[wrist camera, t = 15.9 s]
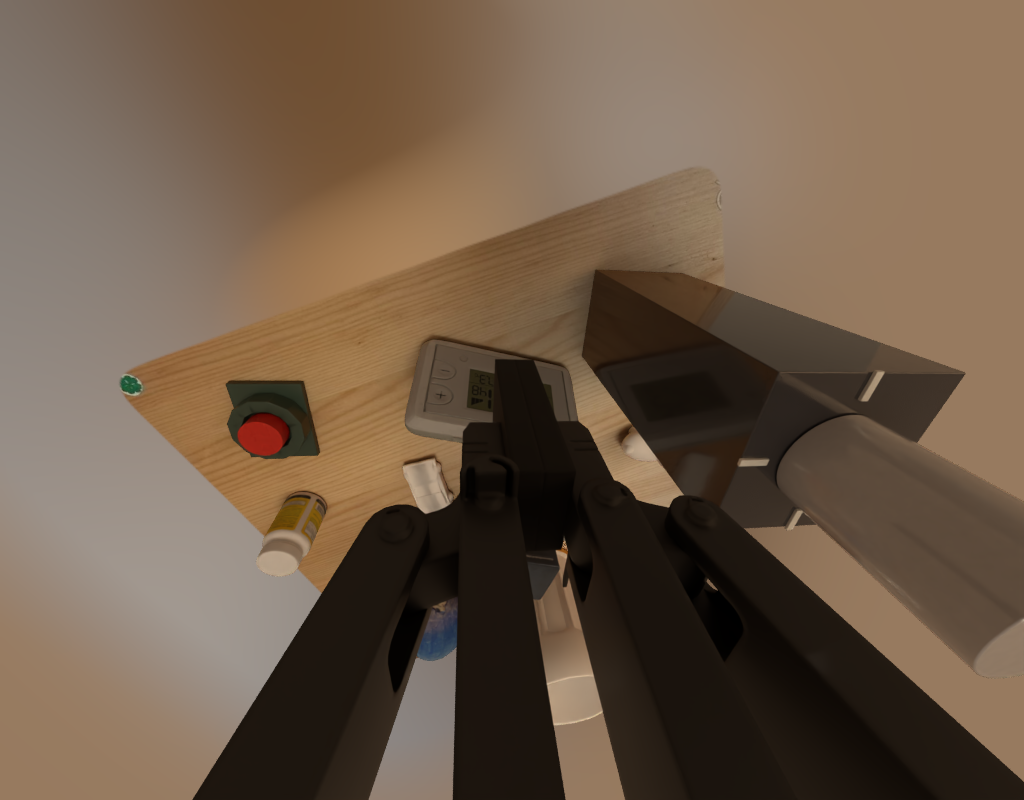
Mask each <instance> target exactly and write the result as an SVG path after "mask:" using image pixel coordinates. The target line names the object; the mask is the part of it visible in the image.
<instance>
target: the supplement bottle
mask: <svg viewBox="0 0 1024 800" xmlns="http://www.w3.org/2000/svg"><path fill="white" fill-rule="evenodd" d="M325 513H326V504H325V502H324V500H323V499H322V498H320V497H319V496H317V495H315V494H312V493H309V492H298V493H294V494H292V495H290V496H289V497H288V498H287V499H286V501H285V502H284V504H283V506H282V507H281V509H280V511H279V513H278V514H277V516H276V518H275V520H274V521H273V523H272V525H271V527H270V528H269V530H268V532H267V534H266V535H265V537H264V539H263V543H262V546H263V548H262V550H261V552H260V554H259V556H258V558H257V561H256V564H257V566H258V568H259V569H260V570H261V571H262V572H264V573H266V574H269V575H272V576H287V575H290V574H292V573H294V572H295V571H296V570H297V568H298V566H299V564H300V562H301V560H302V558H303V557H304V556H306V555H307V553H308V552H309V550H310V548H311V546H312V543H313V541H314V539H315V536H316V534H317V532H318V529H319V527H320V525H321V522H322V520H323V518H324V515H325Z"/></svg>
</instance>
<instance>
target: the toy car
mask: <svg viewBox="0 0 1024 800" xmlns="http://www.w3.org/2000/svg"><path fill="white" fill-rule="evenodd" d="M402 468H403V471H404V477H405V479H406V480H407V481H408V483H409V486H410V489H411V491H412V494H413V496H414V499H415V501H416V503H417V507H418V508H419V509H420V510H421V511H423V512H424V513H425V514H427V513H430V512H434V511H437V510H440V509H442V508H445V507H446V506H448V505H449V504H451V503H452V500H453V494H452V493H451V492H449V490H448V488H447V485H446V483H445V480H444V478H443V475H442V473H441V465H440V464H439V463H438V462H436V459H435V458H431V459H427V460H423V461H419V462H415V463H411V464H406V465H403V467H402Z"/></svg>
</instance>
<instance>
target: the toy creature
mask: <svg viewBox="0 0 1024 800" xmlns="http://www.w3.org/2000/svg"><path fill="white" fill-rule="evenodd" d="M622 450H623V451H624V453H625V454H626V455H627V456H629V457H630V458H632V459H635V460H639V461H647V462H650V461H658V462H659V460H658V459H657V458H656V456H655V455H654V453H653V452H652V451H651V449H650V448H649V447H648V445H647V444H646V443H645V441H644V440H643V439H642V437H641V436H640V434H639V433H638V432H637V430H636V429H635V428H634V427H631V428H630V429H629V434H628V435H627V436H626V437H625V438H624V440H623V442H622ZM659 464H660V465H661V466H662V464H661V463H660V462H659ZM662 467H663V466H662ZM663 468H664V467H663Z"/></svg>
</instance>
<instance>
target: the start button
mask: <svg viewBox="0 0 1024 800" xmlns="http://www.w3.org/2000/svg"><path fill="white" fill-rule="evenodd" d="M289 435H290V431H289V428H288V426H287V424H286V423H285V422H284V421H283V420H282V419H281V418H279V417H278V416H275V415H273V414H269V413H258V414H255V415H253V416H251V417H250V418H249V419H248V420H247V421H246V422H245V423H244V424H243V425H242V426H241V427H240V429H239V430H238V440H239V442H240V444H241V445H242V446H243V447H244V448H245V449H246V450H248V451H249V452H251V453H254V454H257V455H263V456H267V455H272V454H275V453H277V452H278V451H279V450H280V449H281V448H282V447H283V445H284V444H285V442H286V441H287V440H288V438H289Z"/></svg>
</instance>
